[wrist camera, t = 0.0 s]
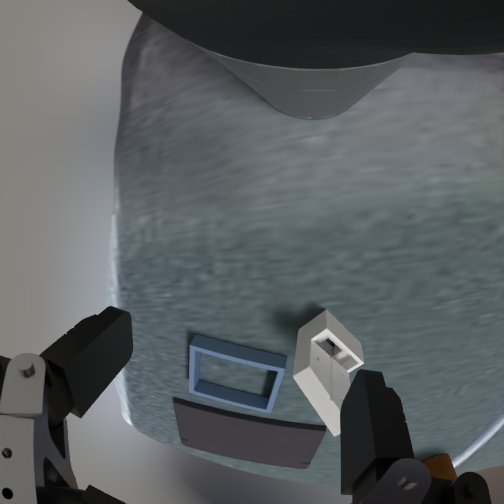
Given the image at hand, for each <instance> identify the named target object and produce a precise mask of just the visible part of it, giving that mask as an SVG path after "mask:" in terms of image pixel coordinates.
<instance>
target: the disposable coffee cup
mask: <svg viewBox="0 0 504 504" xmlns="http://www.w3.org/2000/svg"><path fill="white" fill-rule="evenodd" d="M422 463H423V464H424V465H425V466H426V467H427V468H428V470H429V472H430V474H431V476H433V477H437V478H441V479H446V480H452V481H454V480H455V479H457V475H456V472H455V470H454V467H453V464H452V462H451V459H450V457H449V455H448V454H441V455H437V456H434V457H431V458H429V459H427V460H425V461H424V462H422Z"/></svg>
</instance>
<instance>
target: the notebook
mask: <svg viewBox="0 0 504 504" xmlns="http://www.w3.org/2000/svg"><path fill="white" fill-rule="evenodd" d="M173 404H174V409H175V414H176V419H177V424H178V429H179V433H180V438H181V442H182V444H183V445H185V446H188V447H191V448H195V449H198V450H202V451H206V452H210V453H213V454H218V455H222V456H226V457H231V458H235V459H240V460H245V461H250V462H256V463H262V464H268V465H275V466H282V467H290V468H299V469H306V468H307V467H308V466H309V464H310V463H311V460H312V459H313V457H314V455H315V453H316V451H317V449H318V447H319V445H320V443H321V441H322V439H323V437H324V435H325V433H326V426H322V425H312V424H303V423H294V422H287V421H280V420H273V419H267V418H261V417H256V416H250V415H245V414H240V413H235V412H230V411H226V410H221V409H217V408H213V407H209V406H205V405H201V404H197V403H193V402H189V401H186V400H182V399H179V398H175V400H174V402H173Z"/></svg>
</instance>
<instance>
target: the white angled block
mask: <svg viewBox="0 0 504 504" xmlns="http://www.w3.org/2000/svg"><path fill="white" fill-rule="evenodd" d="M327 338H329V339H330V340H331V341H332V342H334V343H335V344H336V345H335V346H333V347H332V346H331V345H330V344H329V343H328V342H327V341H326V340H325V339H327ZM363 363H364V359H363V353H362V347H361V343H360V342H359V341H358V340H357V339H356V338H355V337H354V336H353V335H352V334H351V333H350V332H349V331H348V330H347V329H346V328H345V327H344V326H343V325H342V324H341V323H340V322H339V321H338V320H337V319H336V318H335V317H334V316H333V315H332V314H331V313H330V312H329V311H328V310H325V311H323V312H322V313H320V314H319V315H318V316H316V317H315V318H314V319H312V320H311V321H310V322H308V323H307V324H306V325H304V326H303V327H301V328H300V329H299V330H298V337H297V346H296V354H295V362H294V370H293V378H294V379H295V381H296V382H297V384H298V385H299V387H300V388H301V390H302V391H303V392H304V394H305V395H306V397H307V398H308V400H309V401H310V403H311V404H312V406H313V407H314V408H315V410H316V411H317V413H318V414H319V416H320V417H321V418H322V420H323V421H324V423H325V424H326V426H327V427H328V428H329V430H330V431H331V433H332V434H333V435H334V437H335V436H337V435H339V434H340V410H341V406H342V403H343V400H344V398H345V396H346V394H347V392H348V390H349V388H350V379H349V372H351V371H352V370H354V369H356V368H357V367H359V366H360V365H362V364H363Z"/></svg>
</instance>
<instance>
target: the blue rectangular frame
mask: <svg viewBox="0 0 504 504" xmlns="http://www.w3.org/2000/svg"><path fill="white" fill-rule="evenodd" d="M200 352H202V353H205V354H209V355H212V356H216V357H219V358H223V359H227V360H231V361H235V362H239V363H243V364H247V365H251V366H255V367H259V368H264V369H268V370H273V371H277V373H276V377H275V380H274V383H273V386H272V390H271V393H270V396H269V398H268V397H263V396H258V395H254V394H250V393H246V392H242V391H238V390H234V389H230V388H226V387H222V386H219V385H215V384H212V383H208V382H205V381H201V380H199V370H200ZM286 361H287V356H283V355H278V354H273V353H269V352H264V351H260V350H256V349H252V348H247V347H243V346H239V345H235V344H231V343H227V342H224V341H220V340H216V339H212V338H209V337H205V336H201V335H198V334H196V335H195V337H194V339H193V341H192V342H191V344H190V363H189V392H190V393H193V394H197V395H200V396H203V397H207V398H210V399H213V400H217V401H221V402H224V403H228V404H232V405H236V406H240V407H244V408H248V409H252V410H257V411H261V412H266V413H271V410H272V407H273V404H274V401H275V398H276V395H277V393H278V390H279V387H280V384H281V381H282V377H283V374H284V371H285V367H286Z"/></svg>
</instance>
